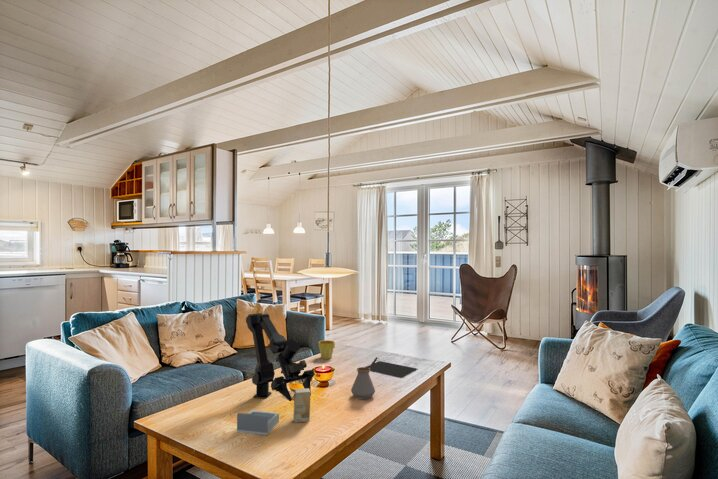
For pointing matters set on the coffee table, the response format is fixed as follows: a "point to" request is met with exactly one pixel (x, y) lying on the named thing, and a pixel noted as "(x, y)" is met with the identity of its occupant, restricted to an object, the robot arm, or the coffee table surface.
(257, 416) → the seat tray
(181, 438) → the coffee table surface
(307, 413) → the skincare box
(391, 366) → the tablet
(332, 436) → the coffee table surface
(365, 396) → the coffee pot
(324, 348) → the plant pot
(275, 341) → the robot arm
